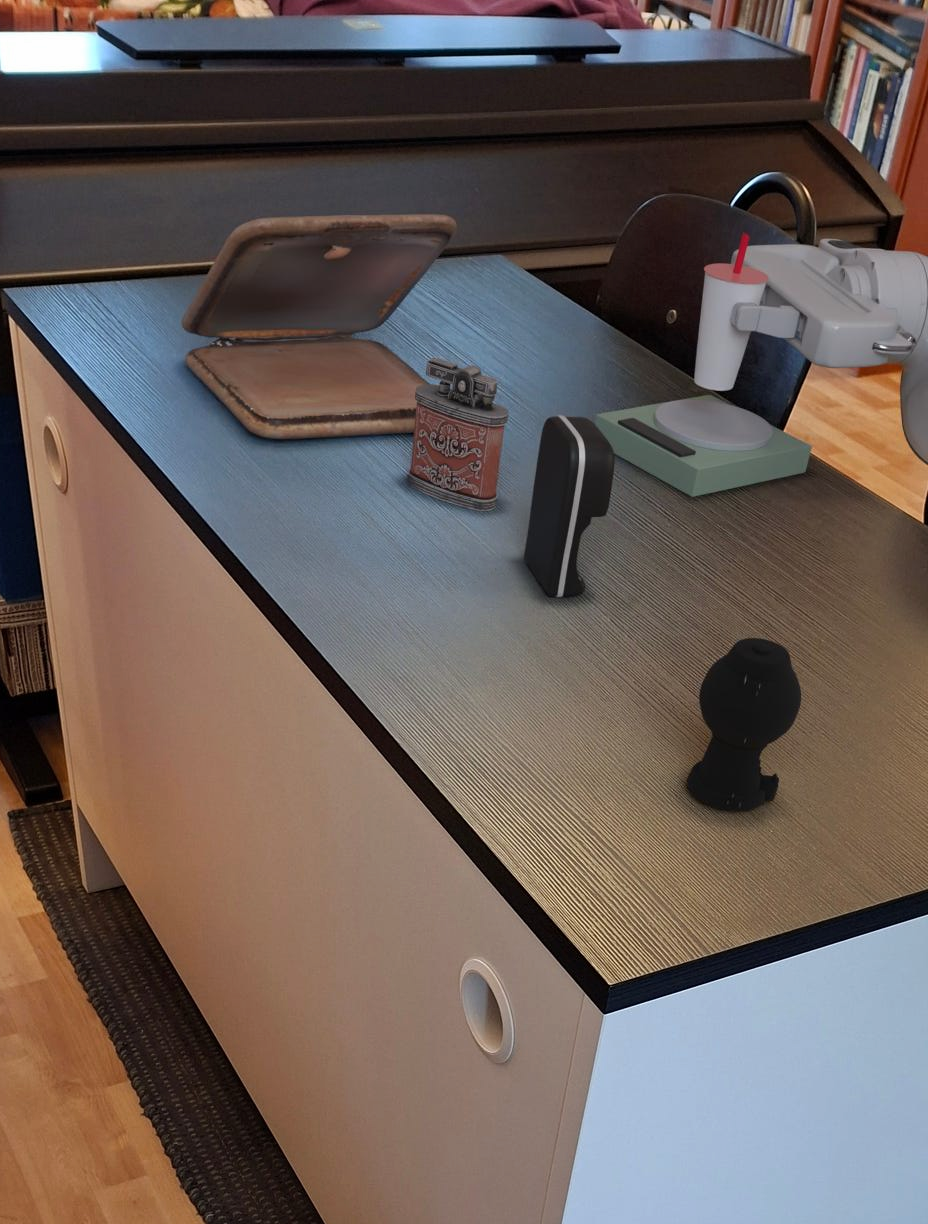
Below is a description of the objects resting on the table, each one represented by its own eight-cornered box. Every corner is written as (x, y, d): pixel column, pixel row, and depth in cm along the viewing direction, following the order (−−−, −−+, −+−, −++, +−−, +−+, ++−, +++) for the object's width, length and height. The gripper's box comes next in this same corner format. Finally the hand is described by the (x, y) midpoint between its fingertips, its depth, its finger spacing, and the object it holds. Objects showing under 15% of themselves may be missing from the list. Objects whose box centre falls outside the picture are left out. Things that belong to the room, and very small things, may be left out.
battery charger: (597, 600, 116) (626, 445, 109) (548, 601, 115) (573, 445, 108) (568, 558, 121) (593, 407, 114) (521, 559, 120) (543, 406, 113)
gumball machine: (772, 835, 95) (815, 684, 88) (673, 816, 95) (709, 665, 89) (773, 777, 100) (814, 631, 93) (680, 760, 100) (714, 614, 94)
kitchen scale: (704, 420, 148) (711, 387, 146) (805, 472, 140) (814, 438, 138) (591, 441, 140) (597, 407, 139) (691, 497, 133) (699, 462, 131)
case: (379, 351, 152) (393, 165, 142) (475, 433, 139) (498, 235, 128) (174, 360, 145) (172, 164, 134) (254, 449, 131) (259, 238, 120)
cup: (735, 374, 139) (767, 225, 131) (751, 397, 135) (785, 244, 127) (676, 370, 138) (705, 220, 130) (690, 393, 134) (721, 239, 126)
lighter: (504, 503, 128) (521, 376, 122) (482, 515, 126) (499, 386, 119) (421, 473, 131) (433, 347, 124) (398, 484, 129) (409, 357, 122)
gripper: (914, 389, 130) (761, 388, 127) (810, 307, 145) (670, 303, 141) (938, 309, 126) (780, 304, 123) (828, 232, 141) (684, 226, 137)
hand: (720, 303), depth 132 cm, fingers closed on cup, 5 cm apart
